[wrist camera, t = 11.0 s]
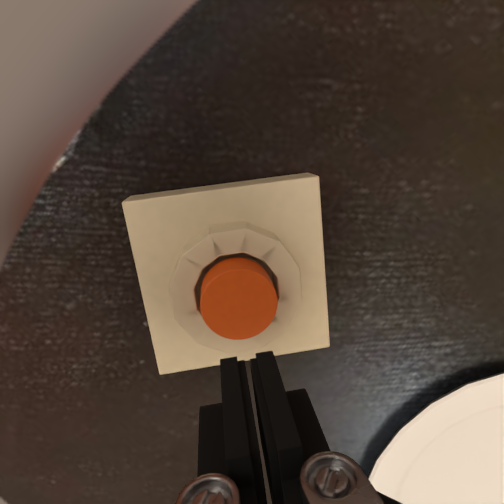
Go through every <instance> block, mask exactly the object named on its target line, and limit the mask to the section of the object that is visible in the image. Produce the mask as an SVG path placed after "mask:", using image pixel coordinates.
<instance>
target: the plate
mask: <svg viewBox="0 0 504 504" xmlns="http://www.w3.org/2000/svg"><path fill="white" fill-rule="evenodd" d="M368 479H369V481H370V482H371V484H372V485H373V487H374V488H375V490H376V491H378V492H380V493H382V494H384V495H386V496H388V497H390V498H392V499H394V500H396V501H398V502H400V503H402V504H504V372H501V373H498V374H494V375H491V376H487V377H484V378H481V379H477V380H474V381H471V382H467V383H465V384H463V385H461V386H459V387H457V388H455V389H453V390H452V391H450V392H448V393H446V394H444V395H442V396H440V397H439V398H437V399H435V400H433V401H431V402H429V403H428V404H427V405H426V406H425V407H423V408H422V409H421V410H420V411H419V412H417V413H416V414H415V415H414V416H413V417H412V418H410V419H409V420H408V421H407V422H406V423H404V424H403V425H402V426H401V427H400V428H399V429H398V430H397V431H396V433H395V434H394V435H393V436H392V438H391V439H390V440H389V442H388V443H387V444H386V446H385V447H384V448H383V449H382V451H381V452H380V453H379V455H378V456H377V457H376V459H375V461H374V464H373V466H372V468H371V471H370V473H369V475H368Z"/></svg>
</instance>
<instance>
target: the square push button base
mask: <svg viewBox="0 0 504 504" xmlns="http://www.w3.org/2000/svg"><path fill="white" fill-rule="evenodd" d="M122 207H123V211H124V216H125V220H126V225H127V229H128V234H129V238H130V243H131V248H132V252H133V257H134V261H135V266H136V270H137V275H138V279H139V284H140V288H141V293H142V297H143V302H144V306H145V311H146V315H147V320H148V324H149V329H150V333H151V338H152V343H153V347H154V352H155V356H156V361H157V365H158V370H159V374H160V375H162V374H168V373H174V372H180V371H186V370H192V369H198V368H204V367H210V366H216V365H220V359H224V358H230V357H236V356H237V360H238V361H241V360H244V361H247V360H250V359H252V358H256V353H260V352H266V351H273V354H274V356H277V355H283V354H289V353H295V352H301V351H307V350H313V349H319V348H325V347H330V339H329V324H328V308H327V292H326V277H325V261H324V246H323V230H322V215H321V199H320V184H319V176H317V175H314V174H311V173H308V172H307V173H300V174H292V175H284V176H277V177H269V178H262V179H254V180H246V181H239V182H231V183H224V184H216V185H208V186H201V187H193V188H186V189H178V190H170V191H163V192H155V193H148V194H140V195H132V196H130V197H128V198H127V199H126V200H124V201H123V202H122ZM237 257H238V258H247V259H250V260H252V261H255V262H256V263H258V264H259V265H261V266H262V267H263V268H264V269H265V270H266V272H267V273H268V275H269V277H270V279H271V281H272V283H273V286H274V288H275V290H276V293H277V298H278V306H277V311H276V314H275V317H274V319H273V321H272V322H271V323H270V325H269V326H268V327H267V328H266V329H265V330H264V331H263V332H261V333H260V334H258V335H256V336H254V337H251V338H248V339H242V340H233V339H228V338H224V337H222V336H220V335H218V334H216V333H215V332H213V331H212V330H211V329H210V328H209V327H208V326H207V325H206V323H205V321H204V320H203V317H202V315H201V311H200V297H201V286H202V282H203V279H204V277H205V275H206V274H207V272H208V271H209V270H210V269H211V268H212V267H213V266H214V265H216V264H217V263H219V262H221V261H223V260H226V259H229V258H237Z"/></svg>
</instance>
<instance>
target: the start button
mask: <svg viewBox="0 0 504 504" xmlns="http://www.w3.org/2000/svg"><path fill="white" fill-rule="evenodd" d="M277 306H278V298H277V293H276V290H275V288H274V286H273V283H272V281H271V279H270V277H269V275H268V273H267V272H266V270H265V269H264V268H263V267H262V266H261V265H259V264H258V263H256V262H255V261H252V260H250V259H247V258H238V257H237V258H229V259H226V260H223V261H221V262H219V263H217V264H216V265H214V266H213V267H212V268H211V269H210V270H209V271H208V272H207V274H206V275H205V277H204V279H203V282H202V286H201V297H200V311H201V315H202V317H203V320H204V321H205V323H206V325H207V326H208V327H209V328H210V329H211V330H212V331H213V332H215V333H216V334H218V335H220V336H222V337H224V338H228V339H233V340H242V339H248V338H251V337H254V336H256V335H258V334H260V333H261V332H263V331H264V330H265V329H266V328H267V327H268V326H269V325H270V323H271V322H272V321H273V319H274V317H275V314H276V311H277Z"/></svg>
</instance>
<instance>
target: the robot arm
mask: <svg viewBox="0 0 504 504" xmlns="http://www.w3.org/2000/svg"><path fill="white" fill-rule="evenodd" d="M250 366H251V373H252V380H253V388H254V395H255V402H256V409H257V417H258V424H259V431H260V438H261V443H262V449H263V455H264V460H265V466H266V471H267V477H268V482H269V488H270V494H271V499H272V504H402V503H400V502H398V501H396V500H394V499H392V498H390V497H388V496H386V495H384V494H382V493H380V492H378V491H376V490H375V488H374V487H373V485H372V484H371V482H370V481H369V479H368V478H367V476H366V475H365V473H364V472H363V471H362V469H361V468H360V466H359V465H358V464H357V463H356V462H355V461H354V460H353V459H351V458H350V457H348V456H347V455H344V454H341V453H338V452H331V451H330V449H329V446H328V444H327V441H326V439H325V436H324V434H323V431H322V429H321V426H320V424H319V421H318V419H317V416H316V414H315V411H314V409H313V406H312V404H311V401H310V399H309V396H308V394H307V392H306V390H305V389H298V390H293V391H287V392H285V389H284V386H283V382H282V379H281V376H280V373H279V370H278V366H277V363H276V360H275V357H274V354H273V351H266V352H260V353H256V358H252V359H250ZM220 370H221V388H222V403H218V404H212V405H207V406H201V407H200V413H199V444H198V476H197V478H194V479H193V480H192V481H190V482H189V483H188V484H186V485H185V487H184V488H183V489H182V490H181V492H180V493H179V495H178V498H177V500H176V503H175V504H267V500H266V493H265V485H264V478H263V471H262V464H261V457H260V451H259V444H258V438H257V433H256V427H255V421H254V415H253V409H252V403H251V397H250V391H249V385H248V379H247V373H246V367H245V361H244V360H241V361H238V360H237V356H236V357H230V358H224V359H220Z"/></svg>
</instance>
